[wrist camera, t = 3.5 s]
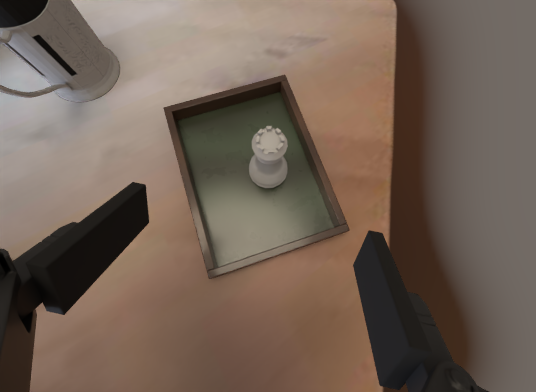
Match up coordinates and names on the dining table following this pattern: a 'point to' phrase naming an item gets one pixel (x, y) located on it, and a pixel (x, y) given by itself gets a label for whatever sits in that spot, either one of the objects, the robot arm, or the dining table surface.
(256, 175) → the rook chess piece
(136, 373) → the dining table surface
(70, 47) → the glass holder
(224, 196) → the tray
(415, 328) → the robot arm
